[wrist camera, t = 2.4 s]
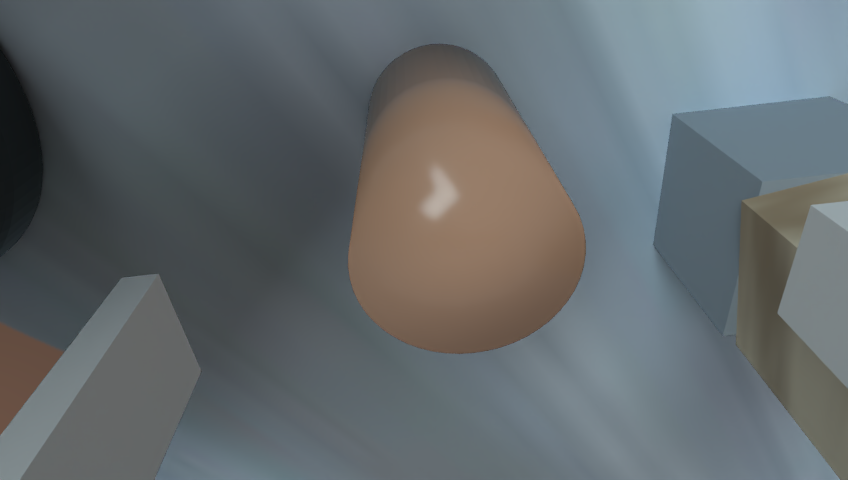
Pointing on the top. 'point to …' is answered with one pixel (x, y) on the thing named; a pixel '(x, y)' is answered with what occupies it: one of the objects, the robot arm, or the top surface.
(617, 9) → the top surface
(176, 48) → the top surface
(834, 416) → the beige cube
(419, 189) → the tan rounded cylinder
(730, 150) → the cube bottom
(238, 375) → the top surface
